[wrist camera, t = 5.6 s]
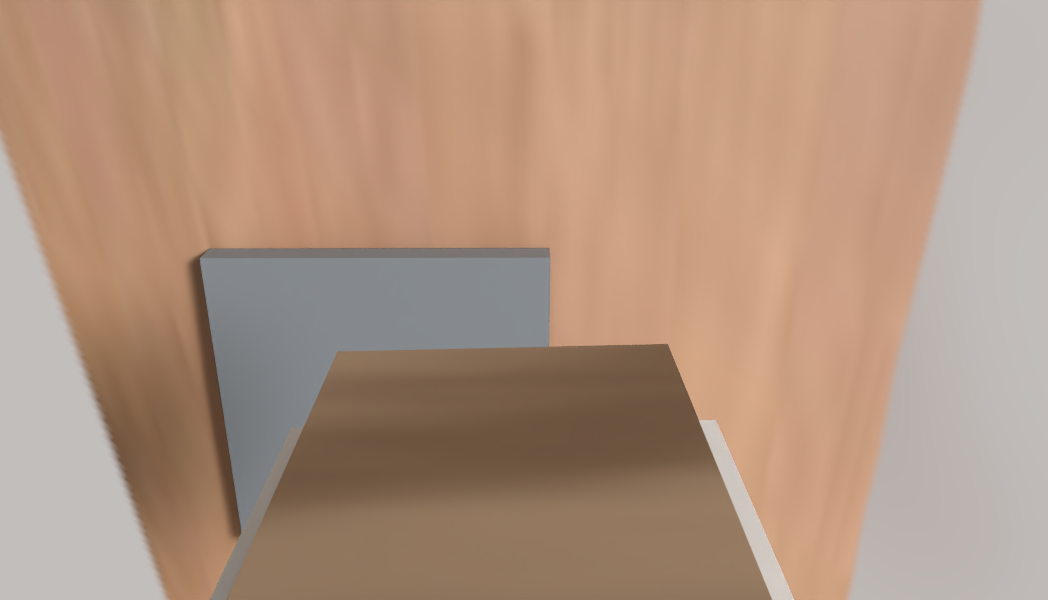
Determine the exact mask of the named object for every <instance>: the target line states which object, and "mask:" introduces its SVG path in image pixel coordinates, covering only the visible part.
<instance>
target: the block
mask: <svg viewBox="0 0 1048 600" xmlns="http://www.w3.org/2000/svg"><path fill="white" fill-rule="evenodd" d="M227 600H772V598H771V596H770V593H769V591H768V588H767V586H766V583H765V581H764V579H763V576H762V574H761V571H760V569H759V566H758V564H757V561H756V559H755V557H754V554H753V552H752V549H751V547H750V544H749V542H748V539H747V537H746V535H745V532H744V530H743V527H742V525H741V522H740V520H739V517H738V515H737V513H736V510H735V508H734V505H733V503H732V500H731V498H730V495H729V493H728V491H727V488H726V486H725V483H724V481H723V478H722V476H721V473H720V471H719V469H718V466H717V464H716V461H715V459H714V456H713V454H712V451H711V449H710V447H709V444H708V442H707V439H706V437H705V434H704V432H703V429H702V427H701V425H700V422H699V420H698V417H697V415H696V412H695V410H694V407H693V405H692V403H691V400H690V398H689V395H688V393H687V390H686V388H685V385H684V383H683V381H682V378H681V376H680V373H679V371H678V368H677V366H676V363H675V361H674V359H673V356H672V354H671V351H670V349H669V346H668V344H652V345H607V346H562V347H516V348H471V349H425V350H380V351H337V353H336V356H335V358H334V360H333V362H332V365H331V367H330V369H329V371H328V374H327V376H326V378H325V380H324V383H323V385H322V387H321V389H320V392H319V394H318V396H317V398H316V401H315V403H314V405H313V407H312V409H311V412H310V414H309V416H308V418H307V421H306V423H305V425H304V427H303V430H302V432H301V434H300V436H299V439H298V441H297V443H296V445H295V448H294V450H293V452H292V454H291V457H290V459H289V461H288V463H287V466H286V468H285V470H284V472H283V474H282V477H281V479H280V481H279V483H278V486H277V488H276V490H275V492H274V495H273V497H272V499H271V501H270V504H269V506H268V508H267V510H266V513H265V515H264V517H263V519H262V522H261V524H260V526H259V528H258V531H257V533H256V535H255V537H254V540H253V542H252V544H251V546H250V548H249V551H248V553H247V555H246V557H245V560H244V562H243V564H242V566H241V569H240V571H239V573H238V575H237V578H236V580H235V582H234V584H233V587H232V589H231V591H230V593H229V596H228V598H227Z"/></svg>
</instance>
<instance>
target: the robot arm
mask: <svg viewBox="0 0 1048 600" xmlns="http://www.w3.org/2000/svg"><path fill="white" fill-rule="evenodd" d="M699 422H700V425H701V427H702V429H703V432H704V434H705V437H706V439H707V442H708V444H709V447H710V449H711V451H712V454H713V456H714V459H715V461H716V464H717V466H718V469H719V471H720V473H721V476H722V478H723V481H724V483H725V486H726V488H727V491H728V493H729V495H730V498H731V500H732V503H733V505H734V508H735V510H736V513H737V515H738V517H739V520H740V522H741V525H742V527H743V530H744V532H745V535H746V537H747V539H748V542H749V544H750V547H751V549H752V552H753V554H754V557H755V559H756V561H757V564H758V566H759V569H760V571H761V574H762V576H763V579H764V581H765V583H766V586H767V588H768V591H769V593H770V596H771V598H772V600H794V598H793V596H792V594H791V591H790V589H789V587H788V584H787V582H786V580H785V577H784V575H783V573H782V571H781V568H780V566H779V564H778V561H777V559H776V557H775V555H774V552H773V550H772V548H771V545H770V543H769V541H768V539H767V536H766V534H765V532H764V529H763V527H762V525H761V522H760V520H759V518H758V516H757V513H756V511H755V509H754V506H753V504H752V502H751V500H750V497H749V495H748V493H747V490H746V488H745V486H744V484H743V481H742V479H741V477H740V474H739V472H738V470H737V467H736V465H735V463H734V461H733V458H732V456H731V454H730V451H729V449H728V447H727V445H726V442H725V440H724V438H723V435H722V433H721V431H720V429H719V426H718V424H717V422H716V420H699ZM302 430H303V428H291V429H290V431H289V433H288V435H287V438H286V440H285V442H284V444H283V446H282V448H281V450H280V452H279V455H278V457H277V459H276V461H275V463H274V465H273V467H272V469H271V472H270V474H269V476H268V478H267V480H266V482H265V484H264V486H263V488H262V491H261V493H260V495H259V497H258V499H257V501H256V503H255V505H254V508H253V510H252V512H251V514H250V516H249V518H248V520H247V522H246V525H245V527H244V529H243V531H242V533H241V535H240V537H239V539H238V541H237V544H236V546H235V548H234V550H233V552H232V554H231V556H230V558H229V561H228V563H227V565H226V567H225V569H224V571H223V573H222V575H221V578H220V580H219V582H218V584H217V586H216V588H215V590H214V592H213V594H212V597H211V599H210V600H227V598H228V596H229V593H230V591H231V589H232V587H233V584H234V582H235V580H236V578H237V575H238V573H239V571H240V569H241V566H242V564H243V562H244V560H245V557H246V555H247V553H248V551H249V548H250V546H251V544H252V542H253V540H254V537H255V535H256V533H257V531H258V528H259V526H260V524H261V522H262V519H263V517H264V515H265V513H266V510H267V508H268V506H269V504H270V501H271V499H272V497H273V495H274V492H275V490H276V488H277V486H278V483H279V481H280V479H281V477H282V474H283V472H284V470H285V468H286V466H287V463H288V461H289V459H290V457H291V454H292V452H293V450H294V448H295V445H296V443H297V441H298V439H299V436H300V434H301V432H302Z"/></svg>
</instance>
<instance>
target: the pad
mask: <svg viewBox="0 0 1048 600" xmlns="http://www.w3.org/2000/svg"><path fill="white" fill-rule="evenodd" d="M200 265H201V271H202V278H203V284H204V291H205V297H206V304H207V310H208V317H209V323H210V330H211V336H212V343H213V349H214V356H215V362H216V369H217V375H218V382H219V388H220V395H221V401H222V408H223V414H224V421H225V427H226V434H227V441H228V447H229V454H230V460H231V467H232V473H233V480H234V486H235V493H236V499H237V506H238V512H239V519H240V525H241V532H242V531H243V529H244V527H245V525H246V522H247V520H248V518H249V516H250V514H251V512H252V510H253V508H254V505H255V503H256V501H257V499H258V497H259V495H260V493H261V491H262V488H263V486H264V484H265V482H266V480H267V478H268V476H269V474H270V472H271V469H272V467H273V465H274V463H275V461H276V459H277V457H278V455H279V452H280V450H281V448H282V446H283V444H284V442H285V440H286V438H287V435H288V433H289V431H290V429H291V428H303V427H304V425H305V423H306V421H307V418H308V416H309V414H310V412H311V409H312V407H313V405H314V403H315V401H316V398H317V396H318V394H319V392H320V389H321V387H322V385H323V383H324V380H325V378H326V376H327V374H328V371H329V369H330V367H331V365H332V362H333V360H334V358H335V356H336V353H337V351H380V350H425V349H471V348H516V347H549V306H550V252H549V248H317V249H208V250H207V251H206V252H205V253H204V254H203V255H202V256H201V257H200Z"/></svg>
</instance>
